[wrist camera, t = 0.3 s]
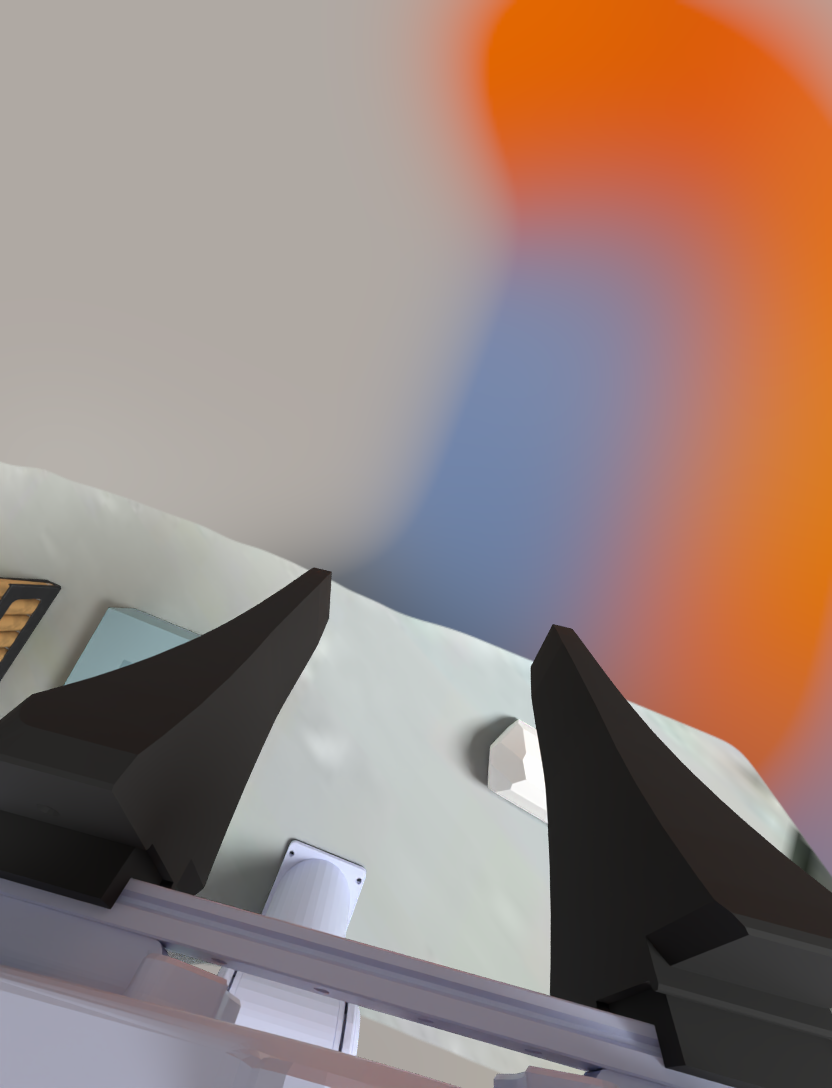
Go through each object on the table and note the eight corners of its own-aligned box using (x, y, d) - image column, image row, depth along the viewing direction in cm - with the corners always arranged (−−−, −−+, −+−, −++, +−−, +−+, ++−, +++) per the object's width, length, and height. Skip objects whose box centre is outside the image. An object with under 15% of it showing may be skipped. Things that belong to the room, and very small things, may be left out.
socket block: (181, 766, 36) (159, 782, 32) (70, 721, 36) (36, 732, 32) (237, 650, 38) (222, 653, 35) (133, 608, 38) (108, 607, 35)
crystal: (467, 810, 34) (695, 946, 33) (508, 760, 31) (754, 905, 31) (470, 747, 41) (658, 858, 40) (504, 703, 38) (704, 819, 38)
